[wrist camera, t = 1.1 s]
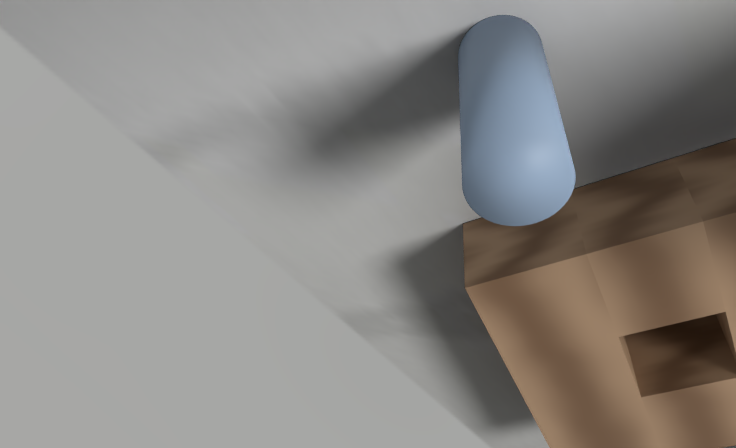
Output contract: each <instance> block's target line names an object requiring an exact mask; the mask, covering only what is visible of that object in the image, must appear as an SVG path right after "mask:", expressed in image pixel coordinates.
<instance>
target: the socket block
mask: <svg viewBox="0 0 736 448" xmlns="http://www.w3.org/2000/svg"><path fill="white" fill-rule="evenodd" d="M463 243H464V276H465V289H466V291H467V293H468V295H469V297H470V299H471V301H472V302H473V304H474V306H475V308H476V310H477V312H478V314H479V316H480V317H481V319H482V321H483V323H484V325H485V327H486V329H487V331H488V333H489V334H490V336H491V338H492V340H493V342H494V344H495V346H496V348H497V349H498V351H499V353H500V355H501V357H502V359H503V361H504V363H505V364H506V366H507V368H508V370H509V372H510V374H511V376H512V378H513V380H514V381H515V383H516V385H517V387H518V389H519V391H520V393H521V395H522V396H523V398H524V400H525V402H526V404H527V406H528V408H529V410H530V411H531V413H532V415H533V417H534V419H535V421H536V423H537V425H538V427H539V428H540V430H541V432H542V434H543V436H544V438H545V440H546V442H547V443H548V445H549V447H550V448H723V447H729V446H734V445H736V139H732V140H729V141H726V142H723V143H720V144H716V145H713V146H710V147H707V148H704V149H701V150H697V151H694V152H691V153H688V154H685V155H681V156H678V157H675V158H672V159H669V160H665V161H662V162H659V163H656V164H653V165H649V166H646V167H643V168H640V169H637V170H633V171H630V172H627V173H624V174H621V175H617V176H614V177H611V178H608V179H605V180H601V181H598V182H595V183H592V184H589V185H585V186H582V187H579V188H576V189H573V192H572V194H571V196H570V198H569V200H568V201H567V202H566V204H565V205H564V206H563V207H562V208H561V209H560V210H559V211H557V212H556V213H555V214H554V215H552V216H550V217H549V218H547V219H545V220H543V221H540V222H537V223H534V224H530V225H524V226H506V225H500V224H496V223H493V222H491V221H488V220H486V219H484V218H480V219H477V220H473V221H470V222H467V223H464V224H463Z"/></svg>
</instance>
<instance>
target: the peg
mask: <svg viewBox="0 0 736 448" xmlns="http://www.w3.org/2000/svg"><path fill="white" fill-rule="evenodd" d="M458 68H459V100H460V131H461V162H462V189H463V193H464V196H465V199H466V201H467V202H468V204H469V206H470V207H471V208H472V209H473V210H474V211H475V212H476V213H477V214H478V215H480V216H481V217H483V218H484V219H486V220H488V221H491V222H493V223H496V224H500V225H506V226H524V225H530V224H534V223H537V222H540V221H543V220H545V219H547V218H549V217H550V216H552V215H554V214H555V213H556V212H557V211H559V210H560V209H561V208H562V207H563V206H564V205H565V204H566V202H567V201H568V200H569V198H570V196H571V194H572V192H573V189H574V186H575V178H576V176H575V169H574V165H573V161H572V157H571V153H570V149H569V145H568V142H567V138H566V134H565V130H564V126H563V122H562V118H561V115H560V111H559V107H558V103H557V99H556V95H555V91H554V88H553V84H552V80H551V76H550V72H549V68H548V64H547V61H546V57H545V53H544V49H543V45H542V41H541V38H540V36H539V34H538V33H537V31H536V30H535V29H534V27H533V26H532V25H530V24H529V23H528V22H526V21H525V20H523V19H521V18H518V17H515V16H510V15H497V16H492V17H489V18H486V19H484V20H482V21H480V22H478V23H477V24H475V25H474V26H473V27H472V28H471V29H470V30H469V31H468V32H467V33H466V35H465V36H464V38H463V40H462V42H461V44H460V47H459V52H458Z"/></svg>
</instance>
